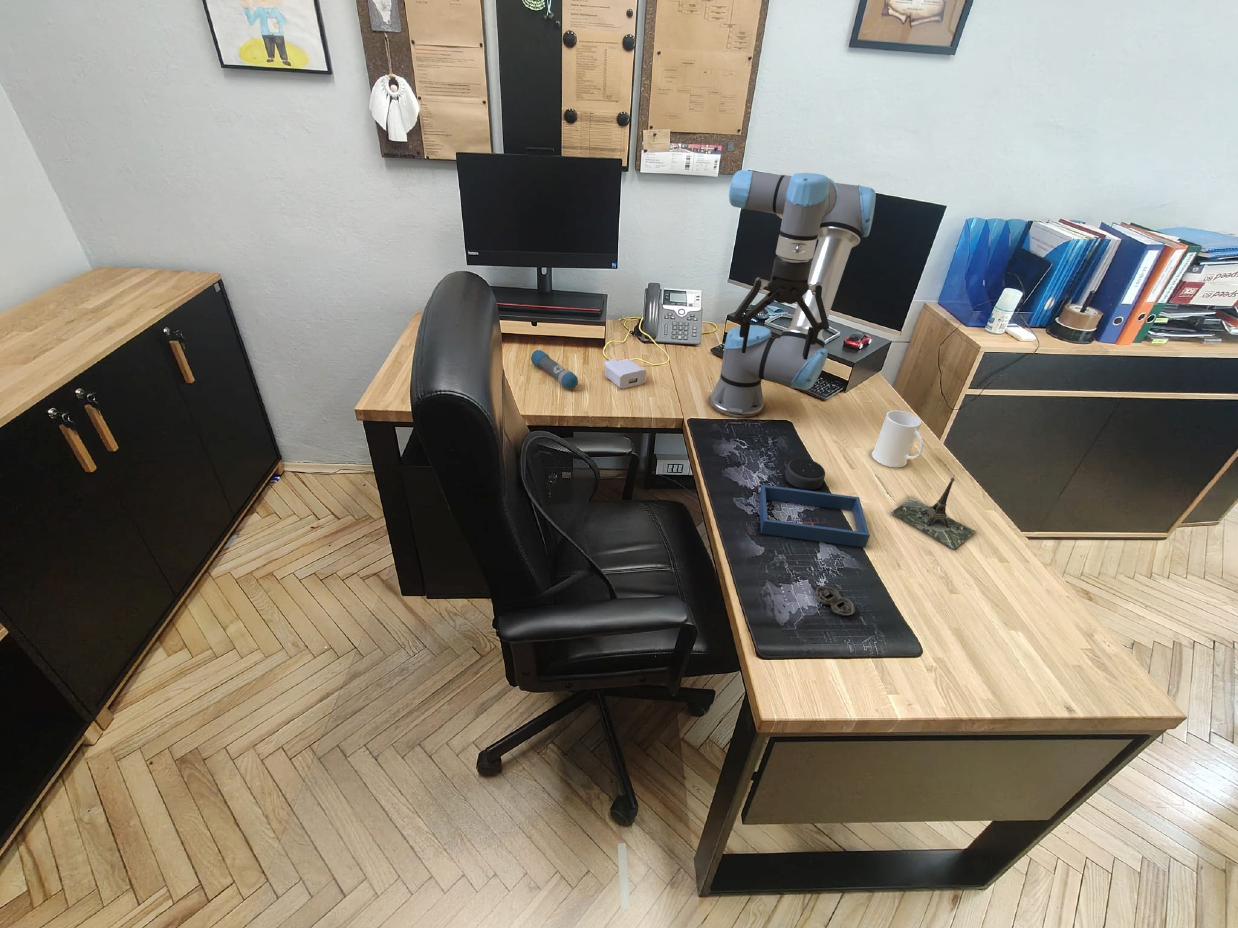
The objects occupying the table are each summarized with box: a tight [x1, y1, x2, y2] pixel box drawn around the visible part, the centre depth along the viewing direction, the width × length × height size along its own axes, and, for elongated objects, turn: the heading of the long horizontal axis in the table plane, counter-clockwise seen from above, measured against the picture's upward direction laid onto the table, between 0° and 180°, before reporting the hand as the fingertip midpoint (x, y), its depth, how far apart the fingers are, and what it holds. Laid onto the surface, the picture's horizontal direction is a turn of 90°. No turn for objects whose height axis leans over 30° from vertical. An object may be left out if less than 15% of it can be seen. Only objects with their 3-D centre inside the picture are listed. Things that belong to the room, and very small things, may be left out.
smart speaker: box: [784, 458, 826, 491], centre depth 142 cm, size 9×9×4 cm
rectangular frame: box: [758, 484, 871, 548], centre depth 129 cm, size 13×22×4 cm, turn 81°
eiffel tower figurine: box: [890, 474, 976, 551], centre depth 128 cm, size 15×10×13 cm
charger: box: [603, 358, 647, 389], centre depth 184 cm, size 5×9×15 cm
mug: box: [871, 409, 925, 469], centre depth 148 cm, size 12×8×12 cm
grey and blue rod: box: [530, 349, 579, 390], centre depth 181 cm, size 5×22×5 cm, turn 35°
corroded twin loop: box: [815, 585, 856, 617], centre depth 110 cm, size 5×8×1 cm, turn 34°
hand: (773, 354), depth 133 cm, fingers open, 13 cm apart
